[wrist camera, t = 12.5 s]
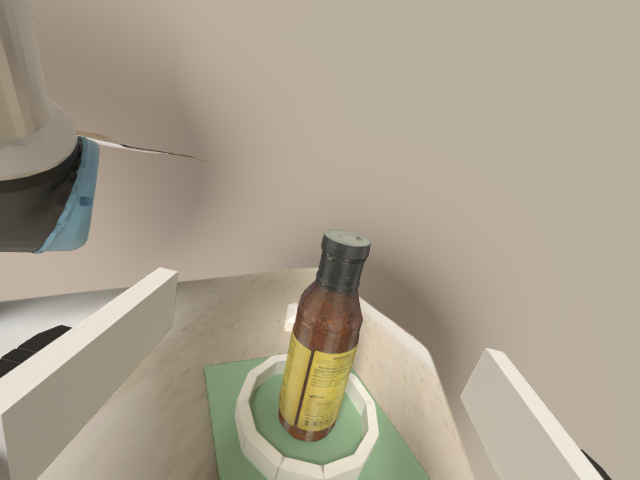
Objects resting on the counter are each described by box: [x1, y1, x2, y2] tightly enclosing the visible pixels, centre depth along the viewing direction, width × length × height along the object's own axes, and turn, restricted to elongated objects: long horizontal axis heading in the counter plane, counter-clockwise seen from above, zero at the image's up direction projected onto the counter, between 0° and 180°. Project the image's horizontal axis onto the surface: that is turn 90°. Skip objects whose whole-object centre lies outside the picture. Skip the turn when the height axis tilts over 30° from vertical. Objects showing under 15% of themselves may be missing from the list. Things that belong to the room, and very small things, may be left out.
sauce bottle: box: [278, 230, 371, 442], centre depth 27 cm, size 7×6×20 cm
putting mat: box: [204, 354, 430, 480], centre depth 30 cm, size 18×18×3 cm
